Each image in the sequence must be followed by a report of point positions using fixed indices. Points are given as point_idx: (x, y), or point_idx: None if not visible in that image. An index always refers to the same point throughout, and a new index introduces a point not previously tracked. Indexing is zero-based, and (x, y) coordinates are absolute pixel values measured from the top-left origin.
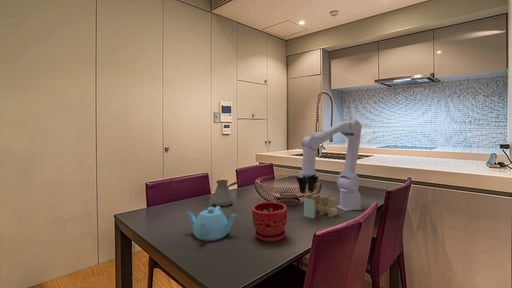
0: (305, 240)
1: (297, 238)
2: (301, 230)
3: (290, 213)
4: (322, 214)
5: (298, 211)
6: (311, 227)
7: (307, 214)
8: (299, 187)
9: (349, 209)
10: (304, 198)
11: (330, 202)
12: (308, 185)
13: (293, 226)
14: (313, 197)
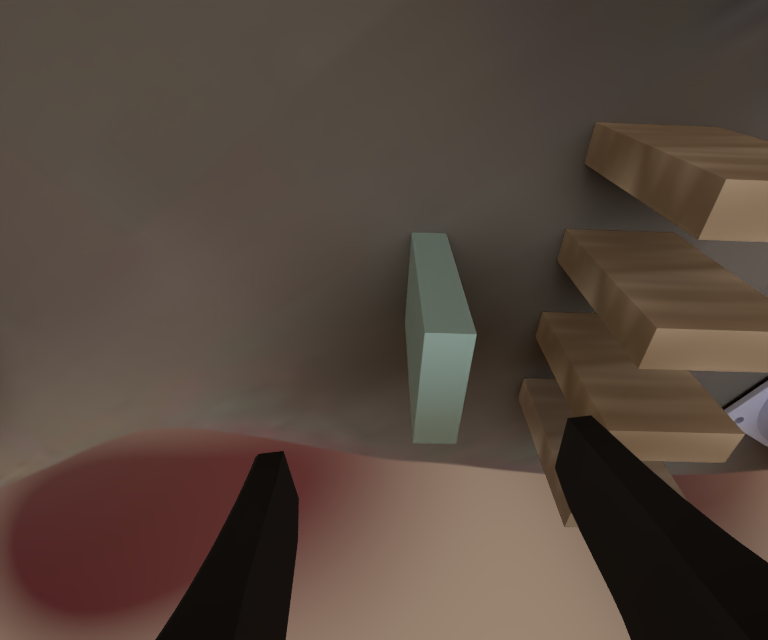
0: (49, 454)
1: (21, 419)
2: (129, 379)
3: (396, 53)
4: (537, 338)
5: (527, 89)
6: (229, 396)
7: (409, 282)
8: (215, 545)
9: (752, 432)
10: (676, 174)
11: (557, 494)
12: (631, 509)
13: (130, 305)
14: (638, 345)
